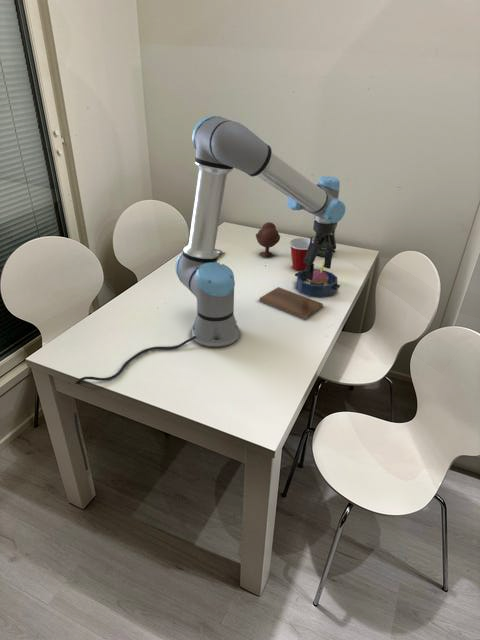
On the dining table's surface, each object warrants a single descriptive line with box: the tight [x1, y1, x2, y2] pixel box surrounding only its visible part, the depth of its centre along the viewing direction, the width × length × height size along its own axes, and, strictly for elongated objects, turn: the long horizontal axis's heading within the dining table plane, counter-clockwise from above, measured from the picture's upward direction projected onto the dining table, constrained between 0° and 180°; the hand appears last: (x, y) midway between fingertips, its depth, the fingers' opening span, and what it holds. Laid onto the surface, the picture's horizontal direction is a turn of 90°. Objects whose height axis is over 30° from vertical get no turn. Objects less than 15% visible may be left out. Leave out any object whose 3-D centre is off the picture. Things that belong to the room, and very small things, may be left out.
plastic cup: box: [288, 237, 310, 272], centre depth 194 cm, size 11×11×12 cm
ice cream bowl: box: [255, 221, 281, 259], centre depth 204 cm, size 11×11×15 cm
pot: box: [294, 268, 341, 298], centre depth 180 cm, size 16×19×4 cm
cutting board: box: [259, 286, 324, 320], centre depth 169 cm, size 12×20×2 cm, turn 51°
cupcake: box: [306, 260, 328, 286], centre depth 178 cm, size 9×8×12 cm
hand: (318, 273), depth 178 cm, fingers open, 13 cm apart
